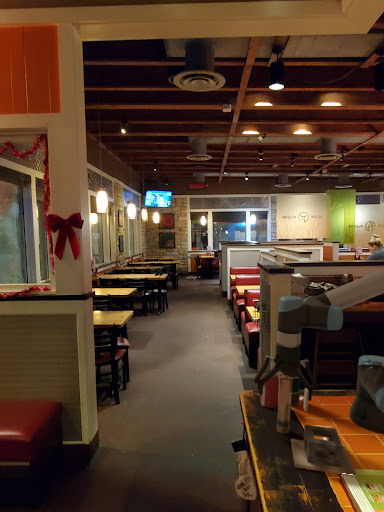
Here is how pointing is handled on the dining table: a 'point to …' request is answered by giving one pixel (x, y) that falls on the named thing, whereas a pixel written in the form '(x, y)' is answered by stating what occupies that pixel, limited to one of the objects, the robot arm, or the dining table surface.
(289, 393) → the copper tube
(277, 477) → the dining table surface
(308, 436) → the collar stand
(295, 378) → the beer bottle
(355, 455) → the dining table surface
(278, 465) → the dining table surface
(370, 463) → the dining table surface
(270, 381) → the beer can
